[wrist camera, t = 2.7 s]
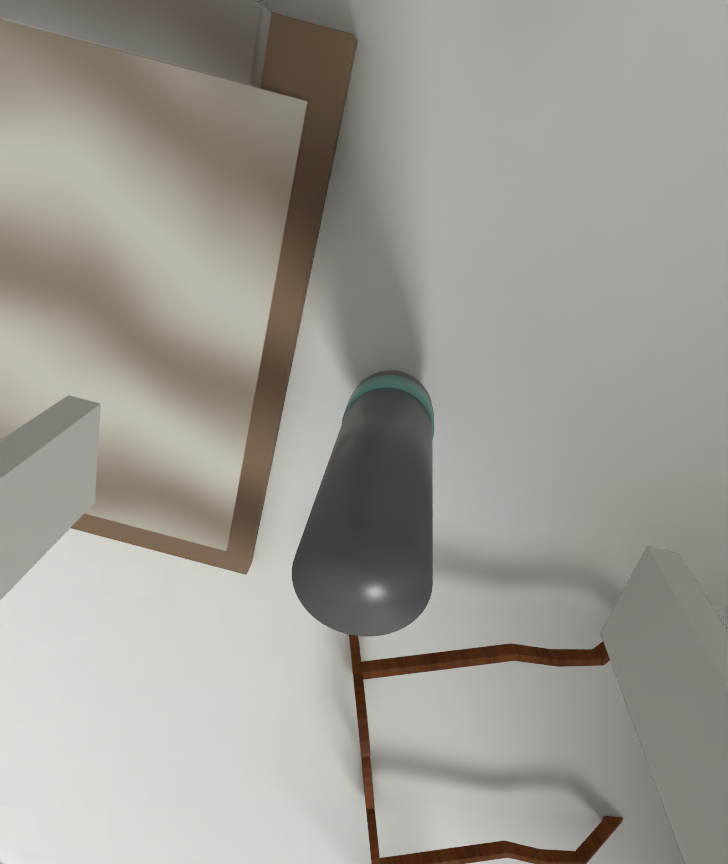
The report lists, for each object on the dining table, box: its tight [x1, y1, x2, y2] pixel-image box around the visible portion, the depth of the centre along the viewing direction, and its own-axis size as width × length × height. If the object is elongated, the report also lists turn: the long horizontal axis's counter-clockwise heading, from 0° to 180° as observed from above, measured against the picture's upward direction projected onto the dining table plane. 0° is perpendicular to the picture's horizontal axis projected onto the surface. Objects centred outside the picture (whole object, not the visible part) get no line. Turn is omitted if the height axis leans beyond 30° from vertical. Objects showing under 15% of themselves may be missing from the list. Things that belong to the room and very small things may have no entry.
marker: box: [292, 371, 434, 636], centre depth 18 cm, size 3×3×11 cm
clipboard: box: [0, 0, 357, 575], centre depth 22 cm, size 20×13×2 cm, turn 166°
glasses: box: [349, 634, 623, 864], centre depth 27 cm, size 13×13×5 cm
